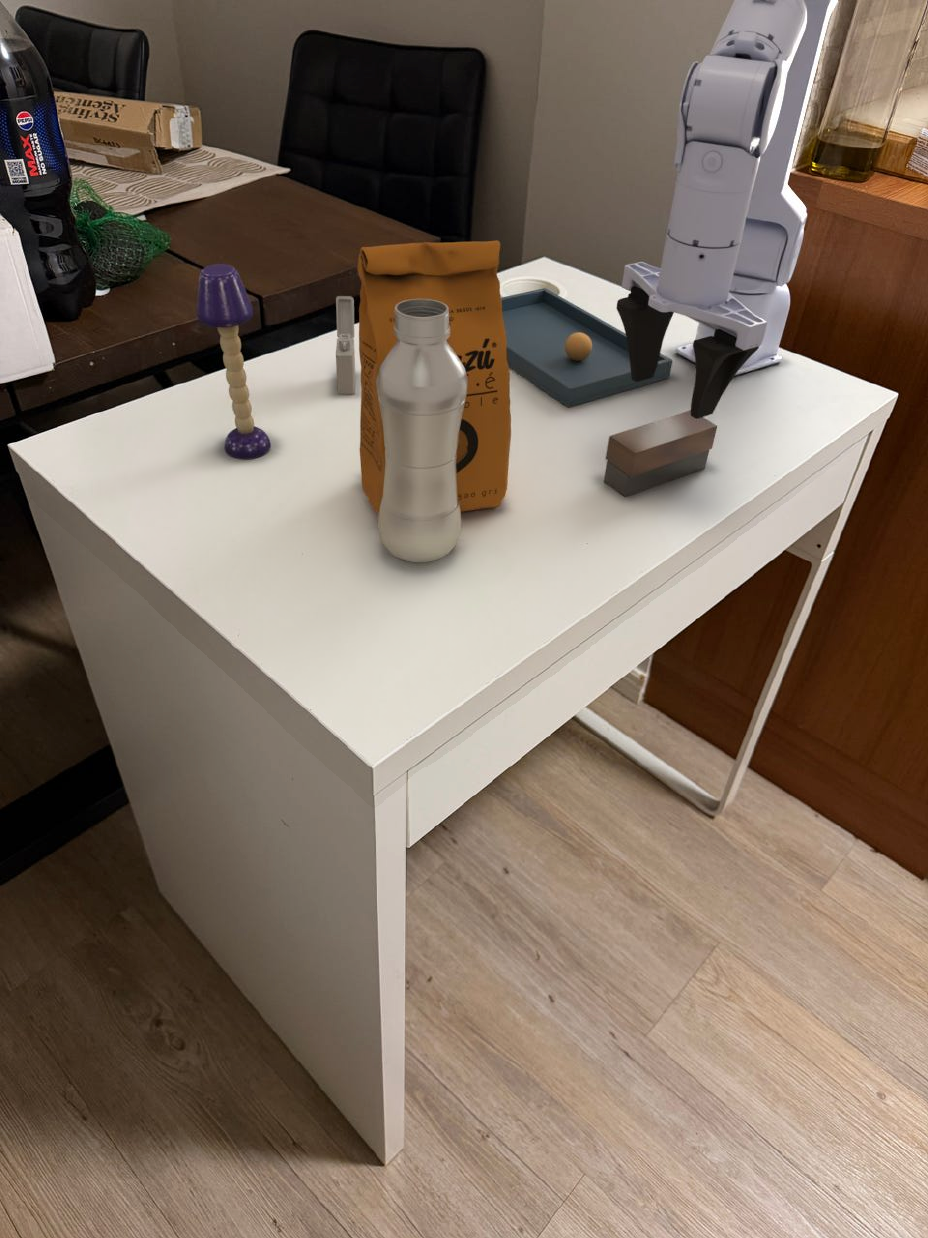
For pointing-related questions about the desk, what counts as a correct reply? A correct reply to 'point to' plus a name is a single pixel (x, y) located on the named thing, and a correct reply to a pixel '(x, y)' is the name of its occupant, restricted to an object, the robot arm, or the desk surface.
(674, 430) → the brush
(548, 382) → the tray
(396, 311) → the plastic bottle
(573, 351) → the wooden bead
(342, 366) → the lighter
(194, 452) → the desk surface
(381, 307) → the coffee package
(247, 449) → the toy lamp
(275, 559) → the desk surface
